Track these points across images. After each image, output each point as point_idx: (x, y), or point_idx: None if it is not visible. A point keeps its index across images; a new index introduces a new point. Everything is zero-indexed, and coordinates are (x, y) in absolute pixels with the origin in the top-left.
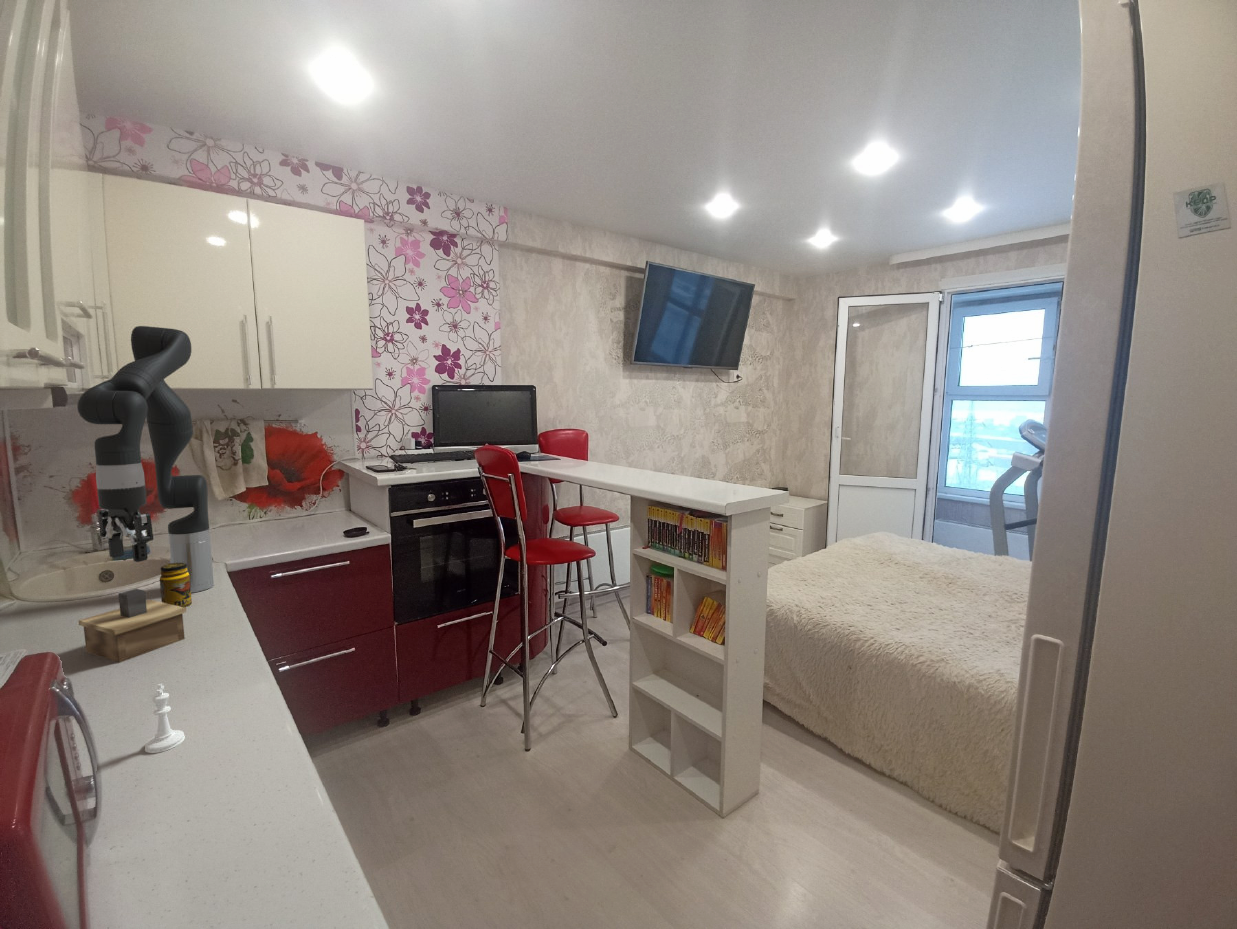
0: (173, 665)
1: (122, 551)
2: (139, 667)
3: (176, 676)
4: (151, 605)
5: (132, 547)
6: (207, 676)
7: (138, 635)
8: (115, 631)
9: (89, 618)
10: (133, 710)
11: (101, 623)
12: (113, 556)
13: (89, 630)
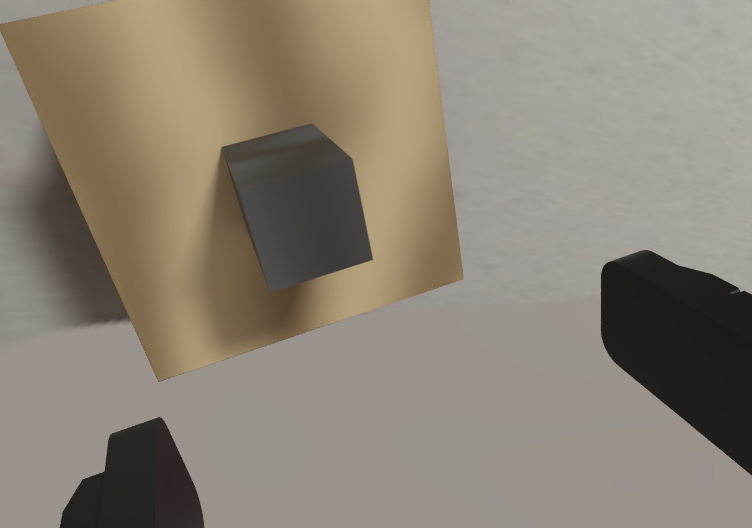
0: (540, 87)
1: (165, 459)
2: (456, 169)
3: (626, 109)
4: (177, 65)
5: (746, 462)
6: (709, 46)
7: None
8: (461, 274)
9: (167, 344)
10: (699, 235)
11: (308, 309)
12: (195, 502)
13: None
